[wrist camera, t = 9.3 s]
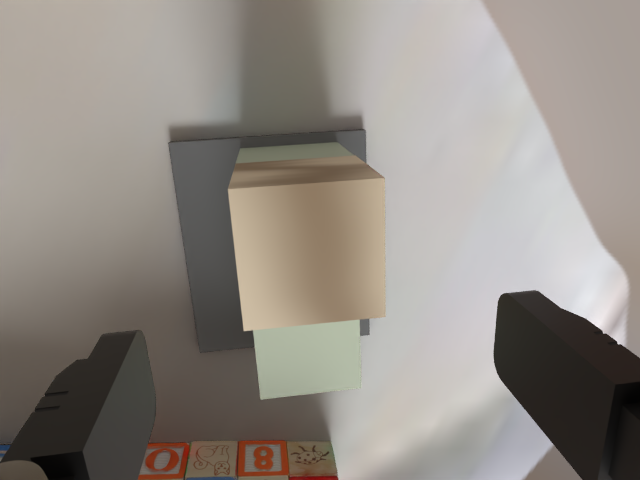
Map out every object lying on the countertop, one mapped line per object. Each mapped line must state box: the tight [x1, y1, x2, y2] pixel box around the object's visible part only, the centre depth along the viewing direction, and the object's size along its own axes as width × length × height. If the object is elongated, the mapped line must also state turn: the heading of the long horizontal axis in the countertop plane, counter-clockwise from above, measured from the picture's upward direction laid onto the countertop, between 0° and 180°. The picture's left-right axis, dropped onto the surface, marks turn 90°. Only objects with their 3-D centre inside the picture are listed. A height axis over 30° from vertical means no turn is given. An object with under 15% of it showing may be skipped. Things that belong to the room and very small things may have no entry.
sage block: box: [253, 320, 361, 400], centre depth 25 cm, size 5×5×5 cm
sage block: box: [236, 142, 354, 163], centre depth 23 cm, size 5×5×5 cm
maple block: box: [228, 155, 385, 331], centre depth 18 cm, size 5×5×5 cm
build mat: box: [169, 129, 369, 353], centre depth 27 cm, size 10×12×1 cm
